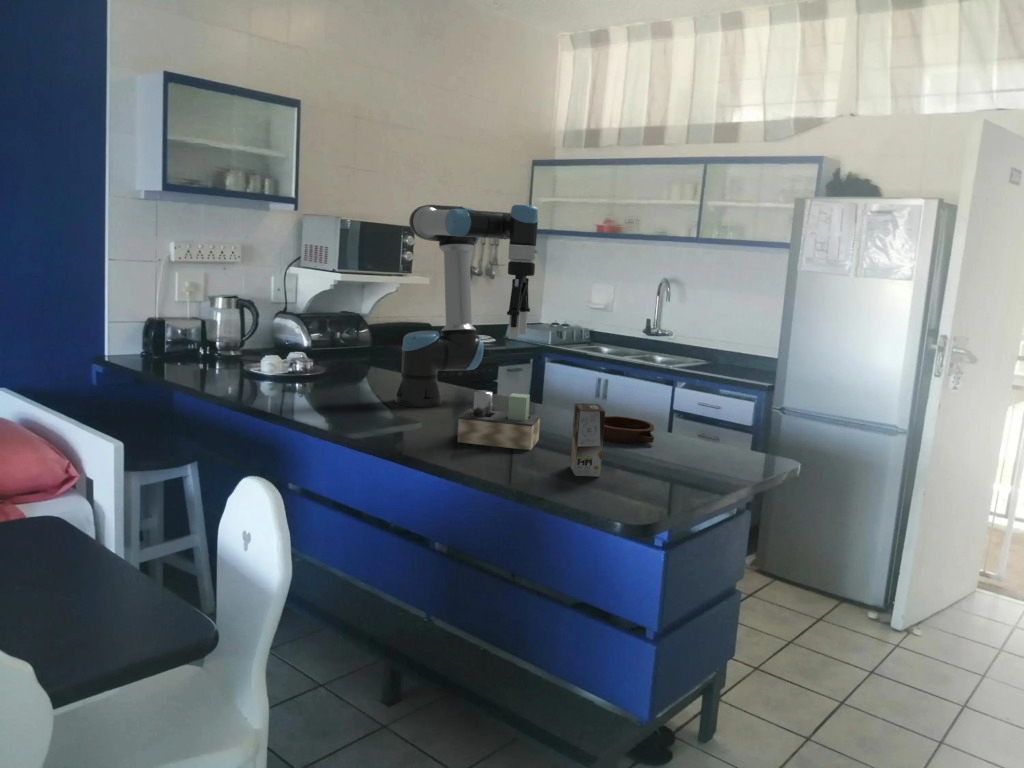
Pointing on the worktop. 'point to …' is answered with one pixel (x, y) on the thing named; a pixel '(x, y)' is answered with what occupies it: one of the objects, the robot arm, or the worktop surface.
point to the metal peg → (482, 403)
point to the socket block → (498, 430)
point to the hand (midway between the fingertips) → (517, 336)
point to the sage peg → (518, 407)
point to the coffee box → (587, 439)
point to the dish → (627, 430)
